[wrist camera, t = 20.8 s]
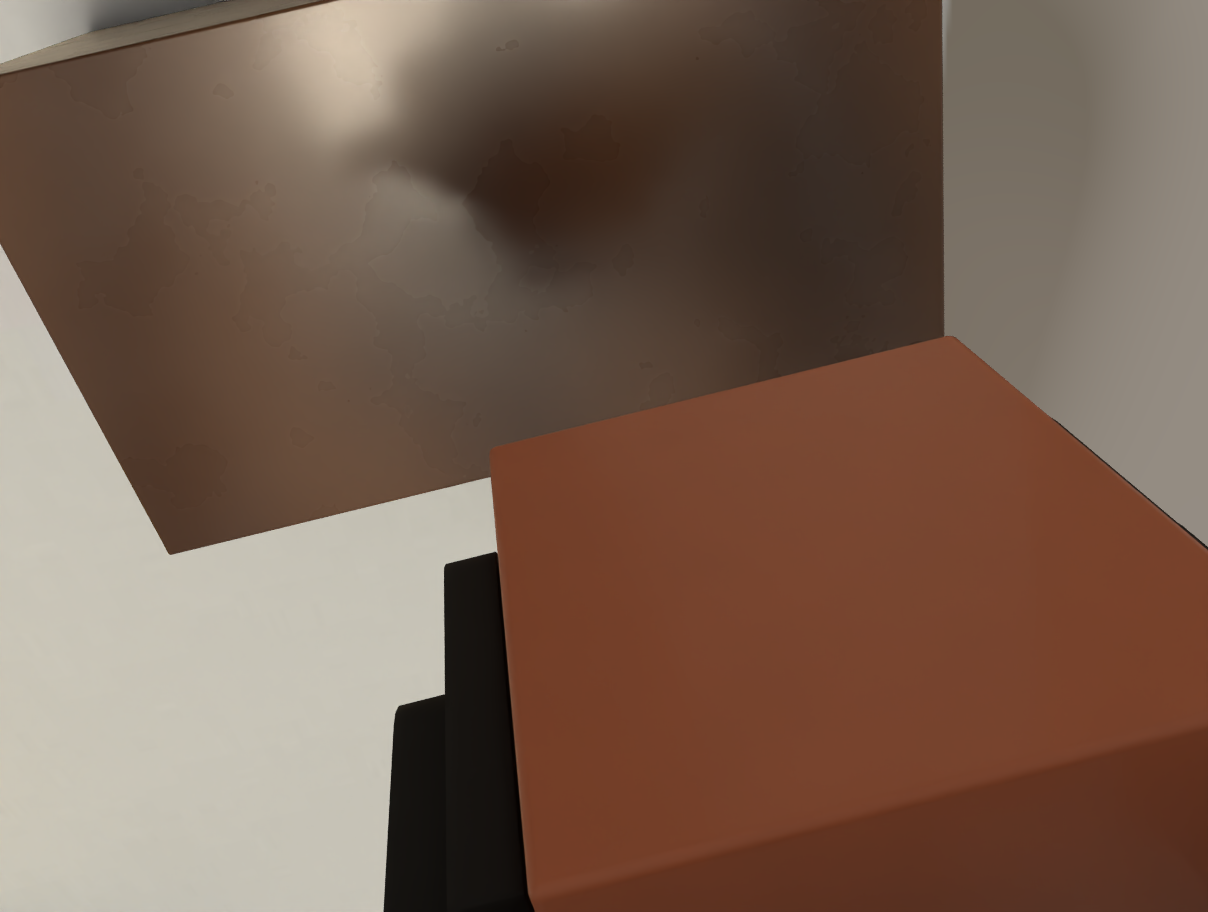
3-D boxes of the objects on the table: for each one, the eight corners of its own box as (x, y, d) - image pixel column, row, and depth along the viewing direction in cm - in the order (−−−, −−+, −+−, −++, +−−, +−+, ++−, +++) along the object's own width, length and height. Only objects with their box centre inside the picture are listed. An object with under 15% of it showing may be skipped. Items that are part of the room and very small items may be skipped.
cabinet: (784, -127, 24) (942, -143, 17) (813, 245, 29) (945, 366, 22) (87, 32, 24) (-84, 93, 16) (241, 383, 29) (169, 556, 21)
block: (953, 331, 10) (1371, 680, 5) (953, 673, 12) (1237, 1100, 8) (486, 444, 9) (525, 898, 5) (583, 768, 12) (666, 1255, 8)
